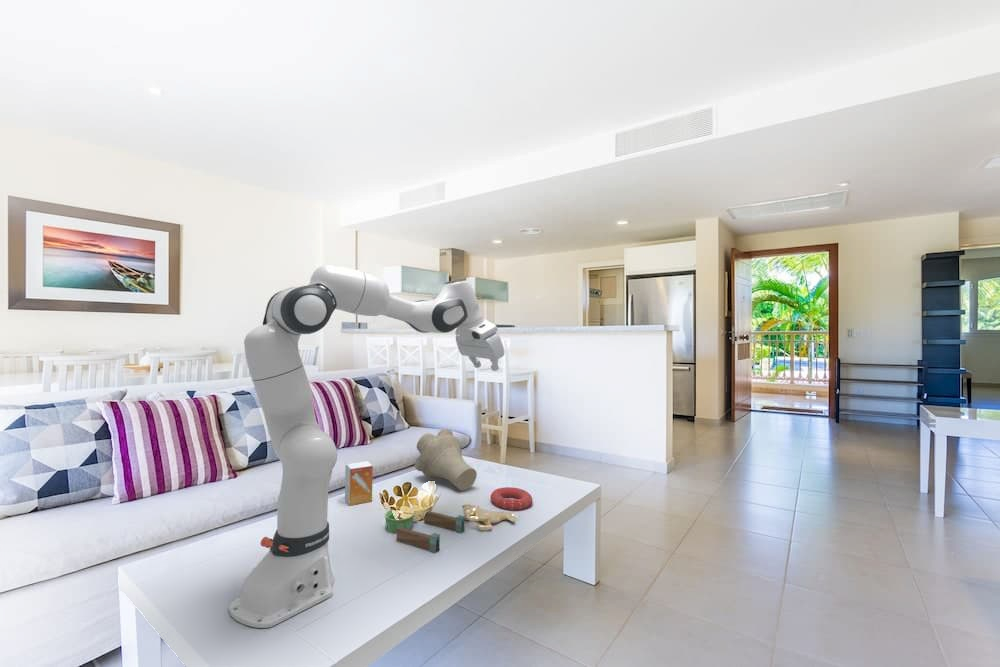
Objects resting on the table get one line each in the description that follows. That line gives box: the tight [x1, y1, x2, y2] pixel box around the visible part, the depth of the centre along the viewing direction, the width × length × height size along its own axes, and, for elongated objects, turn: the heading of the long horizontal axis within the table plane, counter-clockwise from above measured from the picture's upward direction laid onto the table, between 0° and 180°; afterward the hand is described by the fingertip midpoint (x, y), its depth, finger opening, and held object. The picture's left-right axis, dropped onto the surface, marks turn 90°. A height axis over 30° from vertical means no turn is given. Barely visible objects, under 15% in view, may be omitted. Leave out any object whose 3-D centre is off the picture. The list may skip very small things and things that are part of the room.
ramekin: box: [384, 509, 415, 534], centre depth 140 cm, size 9×9×4 cm
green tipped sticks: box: [396, 510, 466, 554], centre depth 134 cm, size 16×14×4 cm
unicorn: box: [461, 504, 521, 531], centre depth 147 cm, size 20×4×17 cm
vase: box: [414, 428, 478, 492], centre depth 177 cm, size 23×23×30 cm
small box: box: [344, 460, 374, 506], centre depth 160 cm, size 8×6×13 cm
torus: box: [490, 486, 533, 511], centre depth 161 cm, size 16×14×4 cm
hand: (486, 368), depth 142 cm, fingers open, 8 cm apart
